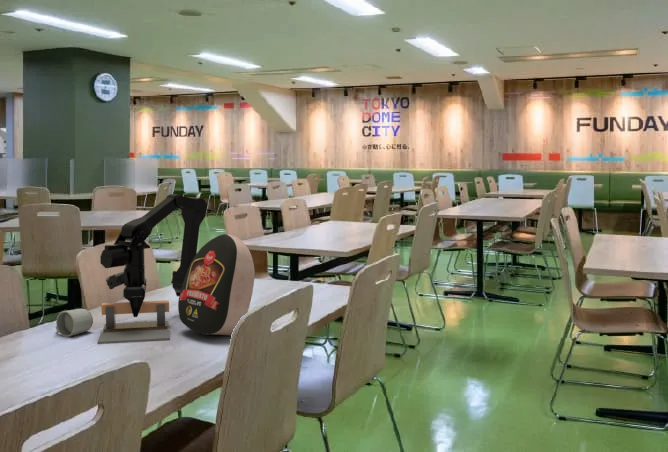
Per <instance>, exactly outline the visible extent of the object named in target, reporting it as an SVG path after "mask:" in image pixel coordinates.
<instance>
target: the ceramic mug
mask: <svg viewBox="0 0 668 452" xmlns="http://www.w3.org/2000/svg"><path fill="white" fill-rule="evenodd" d="M55 324H56V326H55V329H56V333H59V334H60V335H61V336H62V337H65V338H67V337H68V338H70V337H73V336H76V335H79V334H83V333H86V332H88V331H89V330H91V329H92V327H93V324H94V317H93V315H92V313H91V312H90V311H89V310H88V309H86V308H76V309H70V310H63V311H61V312H60V313H58V315H57V316H56V323H55Z"/></svg>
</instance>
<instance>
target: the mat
mask: <svg viewBox="0 0 668 452" xmlns="http://www.w3.org/2000/svg"><path fill="white" fill-rule="evenodd" d="M170 334H171V333H170V329H169V328H168V329H164V330H144V331H124V332H105V333H103V332H100V334H99V337H98V339H97V344H98V345H100V344H101V345H102V344H105V345H106V344H119V343H120V344H121V343H123V344H124V343H137V342H139V343H141V342H157V341H170V340H171V339H170V338H171V336H170Z"/></svg>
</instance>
